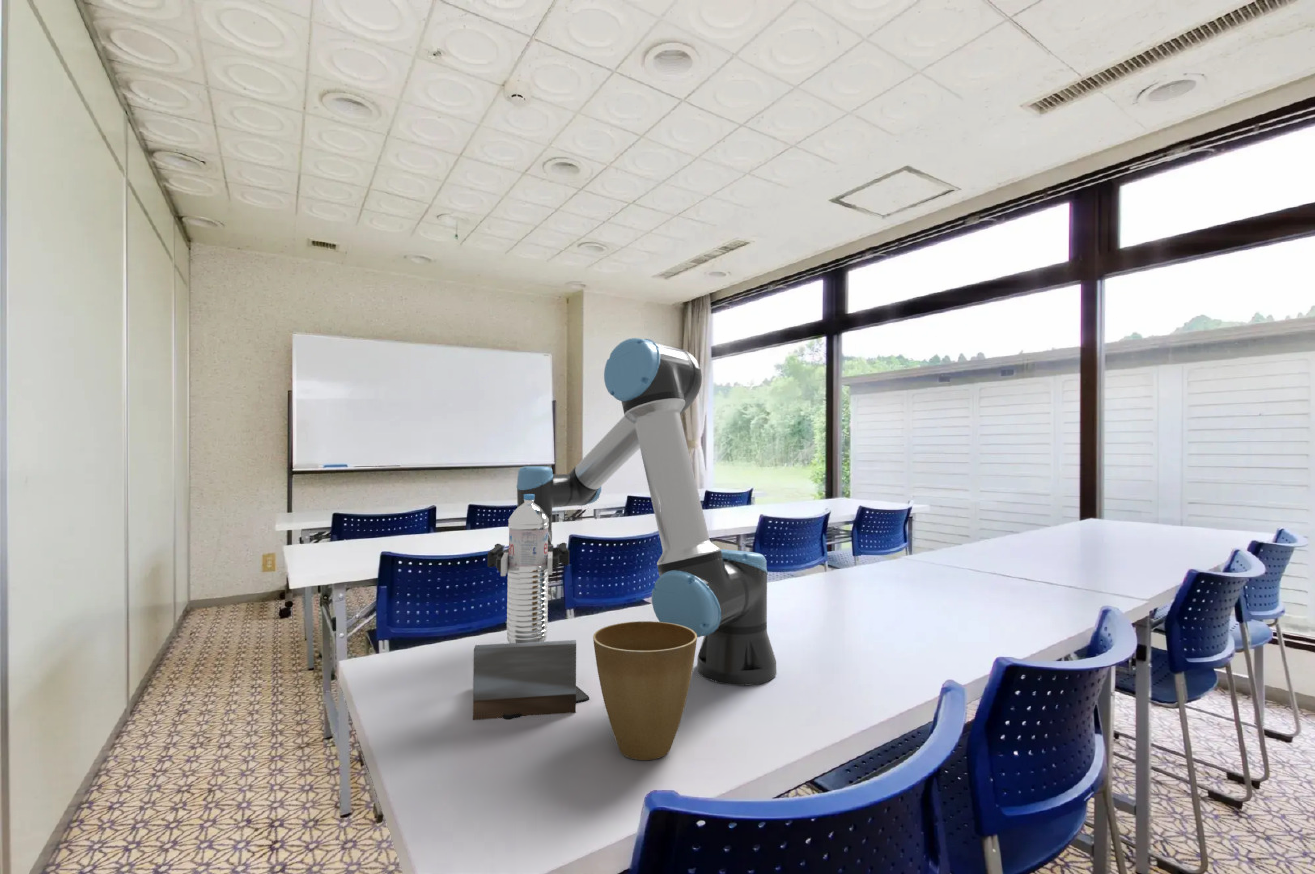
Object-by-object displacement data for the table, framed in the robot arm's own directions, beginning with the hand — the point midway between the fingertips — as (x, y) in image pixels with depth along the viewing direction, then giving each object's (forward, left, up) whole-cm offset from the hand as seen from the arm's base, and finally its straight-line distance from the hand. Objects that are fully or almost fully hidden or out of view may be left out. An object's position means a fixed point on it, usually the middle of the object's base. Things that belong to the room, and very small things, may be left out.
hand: (526, 567), depth 96 cm
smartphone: (0, -4, -24) cm, 24 cm away
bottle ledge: (+3, -4, -23) cm, 24 cm away
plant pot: (-23, 0, -23) cm, 33 cm away
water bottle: (+3, -4, -14) cm, 15 cm away
